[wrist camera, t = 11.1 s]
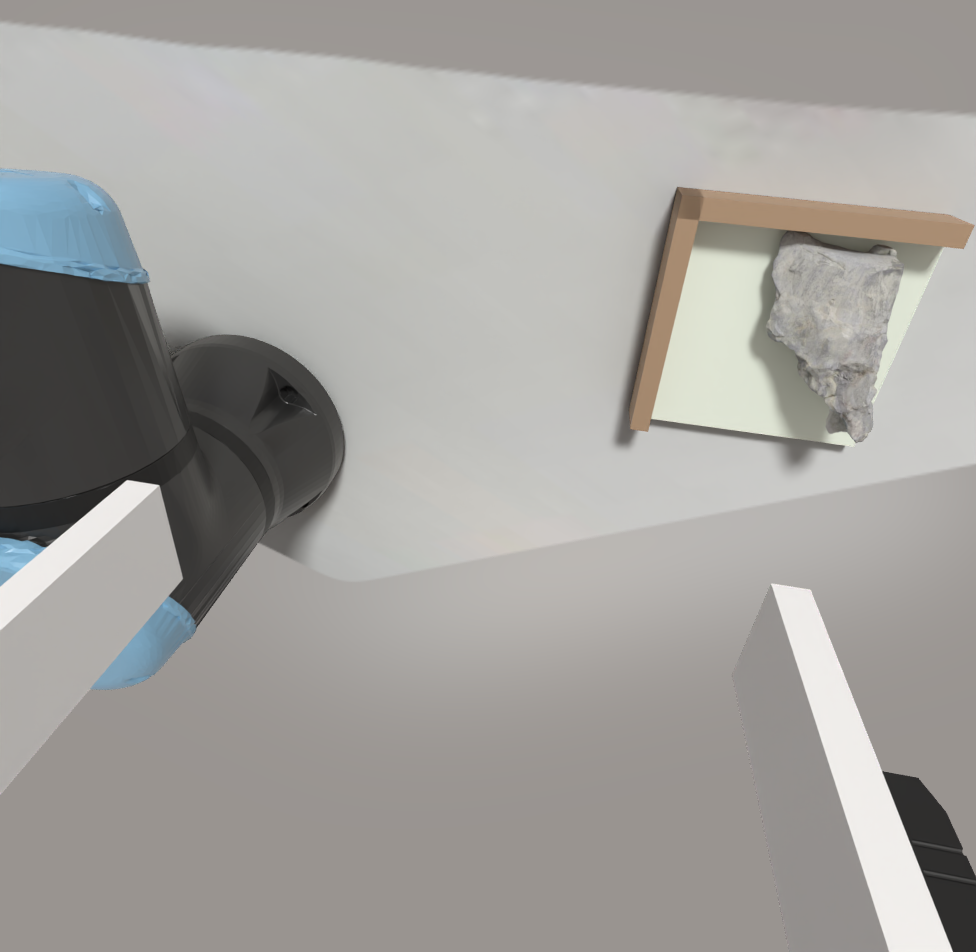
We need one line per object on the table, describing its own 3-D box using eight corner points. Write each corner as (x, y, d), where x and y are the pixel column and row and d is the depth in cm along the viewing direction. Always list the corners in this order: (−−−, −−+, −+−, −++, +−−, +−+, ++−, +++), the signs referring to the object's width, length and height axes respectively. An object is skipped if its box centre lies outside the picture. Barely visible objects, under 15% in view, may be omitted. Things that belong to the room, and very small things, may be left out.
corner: (629, 409, 45) (629, 429, 43) (677, 187, 37) (682, 195, 35) (849, 439, 44) (863, 461, 41) (949, 214, 36) (974, 225, 33)
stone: (750, 421, 43) (763, 449, 39) (770, 230, 37) (787, 243, 33) (855, 418, 41) (878, 447, 38) (893, 220, 35) (924, 232, 32)
